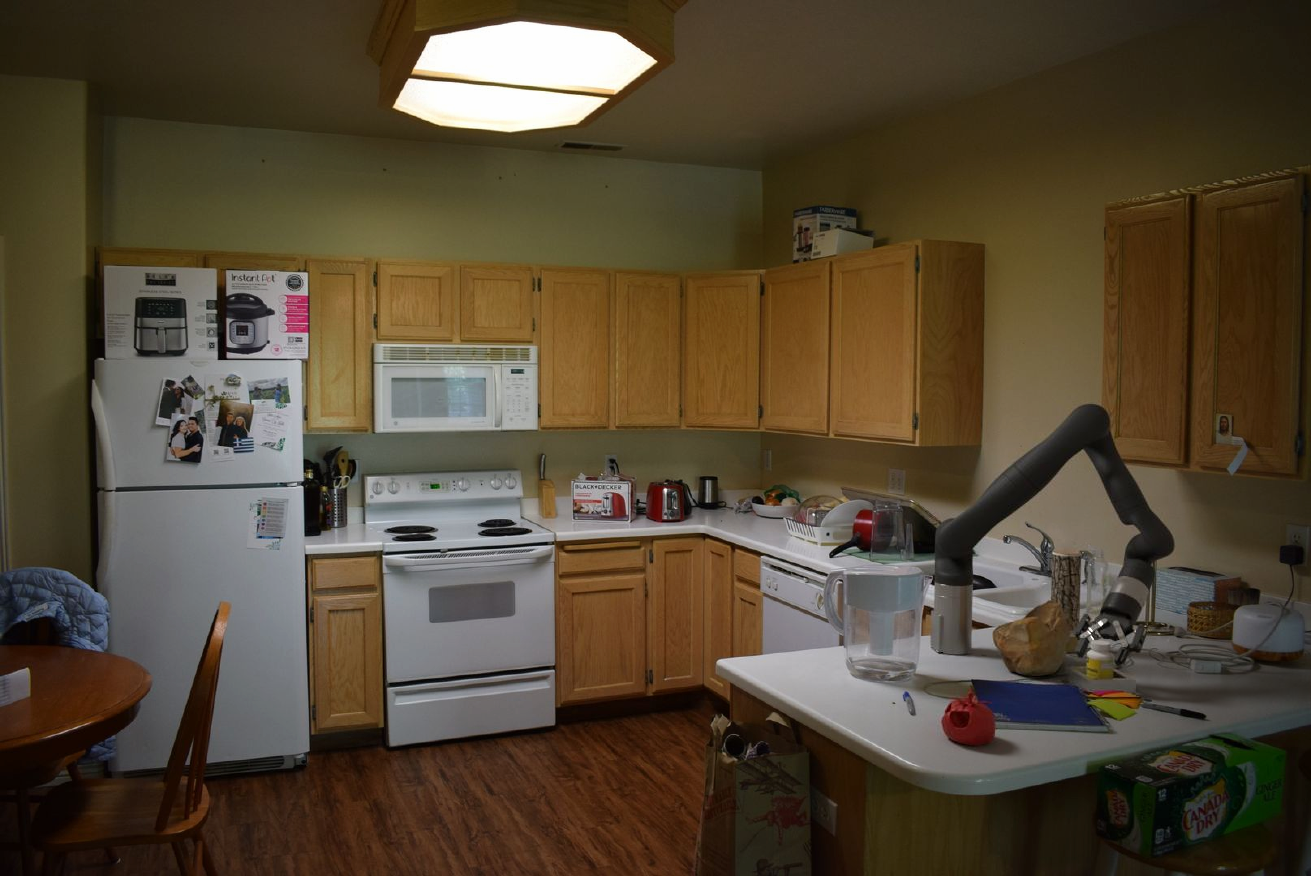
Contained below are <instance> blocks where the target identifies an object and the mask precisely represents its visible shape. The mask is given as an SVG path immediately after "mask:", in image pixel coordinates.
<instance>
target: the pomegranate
mask: <svg viewBox="0 0 1311 876" xmlns="http://www.w3.org/2000/svg"><path fill="white" fill-rule="evenodd" d="M960 697H962V698H963V699H961V698H959V697H957V696H956V697H954V696H953V697H951V699H954V700H952V701H950V702H949V704H947V706H946V708H945V709H944V715H943V716H942V717H941V721H940V723H941V727H942V730H943V733H944V735H945V736H946V737H948V739H950V740H952V741H954V742H956V743H958V744H961V745H962V744H963V745H967V746H974V745H975V746H977V745H979V746H981V745H986V744H990V743H991V742H992V741H993V740H994V738H995V736H996V715H995V714H994V712H993V711H992V709H991V708H989V707H988V706H987V705H986V704H993V703H994V702H989V701H986V700H984V701H983V700H982V701H975V699H976V698H979V697H978V696H977V695H976V694H975V695H974V691H972V690H969V691H968V692H967V697H966V696H965V695H964V694H961V695H960ZM984 703H986V704H984ZM980 744H981V745H980ZM975 746H974V747H975ZM977 747H978V746H977Z"/></svg>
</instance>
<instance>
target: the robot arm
mask: <svg viewBox="0 0 1311 876" xmlns="http://www.w3.org/2000/svg"><path fill="white" fill-rule="evenodd" d="M1082 450H1083V451H1085V453H1086V455H1087V456H1088V458H1089V460H1090V462H1091V463H1092V465H1093V466H1094V468H1095V470H1096V472H1097V474H1098V476H1099V478H1100V481H1101V483H1102V485H1103V487H1104V490H1105V492H1106V494H1107V497H1108V499H1109V500H1110V503H1111V505H1112V507H1113V509H1114V511H1115V513H1116V514H1117V517H1118V519H1119V520H1120V522H1121V523H1122V525H1125V526H1134V527H1135V528H1136V529H1137V530H1138V531H1139V532H1140V533H1138V534H1136V535H1134V536H1132V538H1130V539H1129V541H1128V543H1127V544H1126V547H1125V550H1124V556H1123V563H1122V567H1121V569H1120V571H1119V573H1118V575H1117V578H1115V581H1114V582H1113V584H1112V585H1111V587H1110V589H1109V591H1108V593H1107V594H1106V598H1105V600H1104V602H1103V603H1102V606H1101V608H1100V612H1099V614H1098V615H1097V616H1096V617H1094V616H1090V615H1089V614H1088V613H1087V612H1086V613H1084V614H1083V615H1082V616H1081V617H1080V619H1079V623H1078V625H1077V627H1076V629H1075V630H1074V634H1075V636H1076V638H1077V639H1078V640H1079V642H1078V644H1077V647H1076V648H1075V651H1076V652H1075V653H1076V655H1077V657H1078V658H1084V656H1085V654H1086V653H1087V650H1088V647H1089V645H1090V644H1091V641H1092V640H1102V639H1103V640H1110V641H1114V642H1117V641H1120V644H1121V646H1119V648H1118V651H1117V652H1116V654H1115V657H1114V662H1113V663H1115V666H1116V667H1121V666H1123V665H1124V664H1125V663H1126V661H1127V659H1128V656H1129V655H1130V654H1131V653H1136V654H1140V653H1141V652H1142V648H1143V646H1144V644H1145V641H1146V638H1147V635H1148V631H1147V628H1146V627H1145V625H1144V624H1142V623H1140V624H1138V625H1136V623H1137V622H1138V619H1139V617H1140V615H1141V613H1142V610H1143V608H1144V607H1145V604H1146V601H1147V598H1148V595H1149V593H1150V590H1151V587H1152V585H1153V583H1154V580H1155V578H1156V570H1155V568H1154V566H1153V563H1154V562H1156V561H1158V560H1161V559H1164V558H1166V557H1169V556H1170V555H1171V554H1173V552H1174V550H1175V546H1176V545H1175V539H1174V536H1173V534H1172V532H1171V531H1170V529H1169V528H1168V527H1167V526H1166V524H1165V523H1164V522H1163V521H1162V520H1161V519H1160V517H1159V516H1158V515H1157V514H1156V513H1155V512H1154V511H1153V510H1152V509H1151V507H1150V505H1149V504H1148V501H1147V500H1146V497H1145V495H1144V494H1143V492H1142V490H1141V487H1140V486H1139V485H1138V482H1137V481H1136V479H1135V478H1134V476H1133V474H1132V473H1131V472H1130V470H1129V469H1128V467H1127V466H1126V464H1125V462H1124V461H1123V459H1122V457H1121V455H1120V453H1119V450H1118V449H1117V446H1116V443H1115V441H1114V437H1113V435H1112V431H1111V417H1110V414H1109V412H1108V411H1107V410H1106V408H1104V407H1103V406H1101V405H1099V404H1097V403H1096V404H1095V403H1085V404H1082V405H1080V406H1077V407H1075V408H1074V410H1072V412H1071V413H1069V415H1068V416H1067V417H1066V418H1065V419H1064V420H1063V421H1062V422H1061V423H1060V424H1059V426H1058V427H1056V428H1055V430H1054V431H1053V432H1052V433H1050V435H1049V436H1047V437H1046V438H1045V439H1043V440H1042V441H1041V442H1040V443H1038V444H1037V445H1035V446H1033V448H1031V449H1030V450H1028V451H1027V452H1026V453H1024V454H1023V455H1022V456H1021V457H1019V458H1018V459H1017V460H1016V461H1014V462H1013V463H1012V464H1011V465H1009V467H1007V468H1006V469H1005V470H1003V472H1001V473H1000V474H999V475H998V476H997V477H996V478H995V479H994V480H993V481H992V483H990V485H989V486H988V487H987V488H986V489H985V490H984V492H983V493H982V495H981V496H980V497H979V498H978V499H977V500H976V501H975V502H973V504H972V505H971V506H970V507H969V508H967V509H965V511H964V512H962V513H960V514H959V515H958V516H956V517H951V518H950V517H949V518H947V519H945V520H943V521H942V522H940V523H939V525H938V526H937V528H936V530H935V536H934V537H935V538H934V594H933V595H934V596H933V597H934V598H933V599H934V600H933V601H934V602H933V609H932V610H931V611H930V612H931V613H930V645H931V646H932V647H933V648H932V649H933V650H934V651H935V650H937V651H938V652H943V653H942V654H946V655H947V654H948V655H967V654H970V653H972V646H973V644H972V642H973V641H972V638H973V637H972V635H973V633H972V632H973V630H972V629H973V596H974V595H973V594H974V590H973V589H974V588H973V587H974V567H973V565H974V564H973V563H974V562H973V561H974V552H973V551H974V548H975V547H976V546H977V545H978V544H979V543H980V541H981V540H983V539H984V538H985V536H987V534H988V533H990V531H992V530H993V529H994V528H995V527H996V526H997V525H999V524H1000V523H1001V522H1003V521H1004V520H1006V519H1007V518H1009V517H1010V516H1011V515H1012V514H1014V513H1015V512H1017V511H1018V510H1019V509H1021V508H1022V507H1023V506H1024V505H1026V504H1027V503H1028V502H1030V500H1032V499H1033V498H1035V496H1037V495H1038V494H1039V493H1041V491H1043V489H1045V487H1047V486H1048V484H1049V483H1051V481H1052V480H1053V479H1054V478H1055V477H1056V476H1057V475H1058V474H1059V472H1060V470H1062V469H1063V467H1064V466H1065V465H1066V464H1067V463H1068V462H1069V461H1070V460H1071V459H1072V458H1073V457H1074V456H1075V455H1077V454H1078V453H1080V452H1082ZM1096 632H1097V633H1096ZM1132 633H1134V636H1133V639H1132V641H1131V643H1129V640H1128V638H1127V636H1129V635H1131V634H1132ZM937 651H936V652H937ZM938 652H937V653H938Z"/></svg>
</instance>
